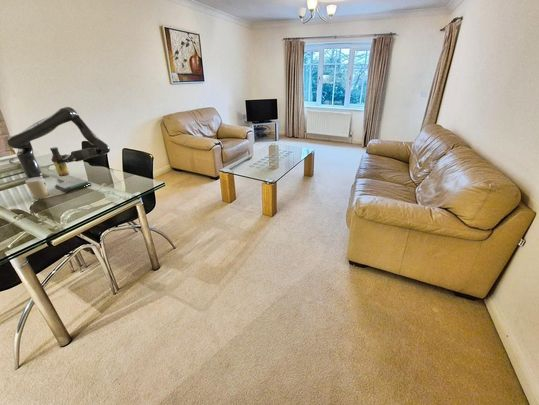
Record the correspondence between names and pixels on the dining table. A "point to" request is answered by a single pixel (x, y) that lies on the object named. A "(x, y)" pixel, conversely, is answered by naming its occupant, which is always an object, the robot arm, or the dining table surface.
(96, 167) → the dining table surface
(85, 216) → the dining table surface
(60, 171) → the sauce bottle
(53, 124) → the robot arm
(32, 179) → the coffee cup
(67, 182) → the kitchen scale
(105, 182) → the dining table surface
